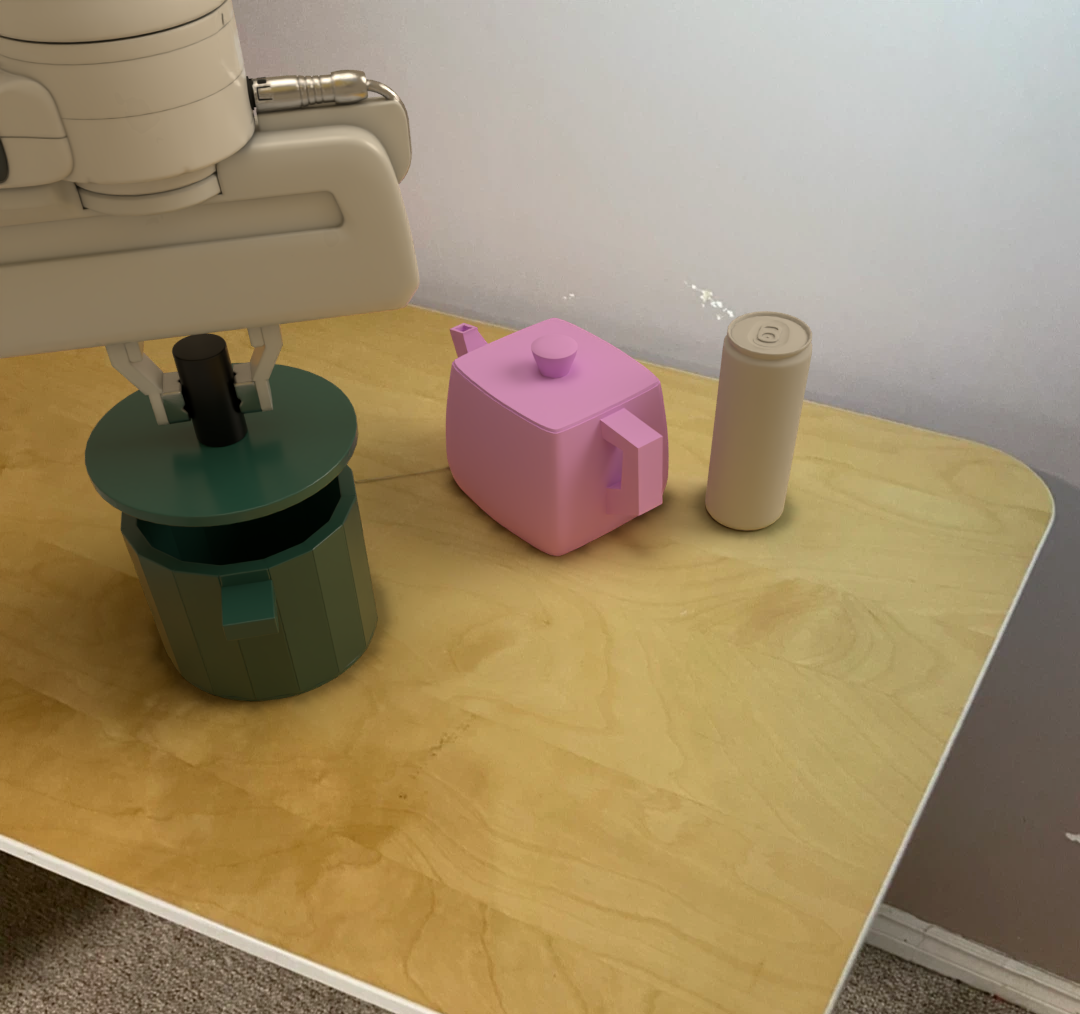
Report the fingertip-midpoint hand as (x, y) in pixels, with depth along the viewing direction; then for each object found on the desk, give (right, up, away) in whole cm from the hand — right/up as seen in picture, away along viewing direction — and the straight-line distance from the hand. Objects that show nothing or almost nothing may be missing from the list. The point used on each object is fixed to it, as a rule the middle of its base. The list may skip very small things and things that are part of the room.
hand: (215, 411), depth 52 cm
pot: (0, -9, +10) cm, 14 cm away
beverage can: (+28, -2, +17) cm, 33 cm away
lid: (0, -1, +1) cm, 2 cm away
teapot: (+16, 0, +19) cm, 25 cm away
